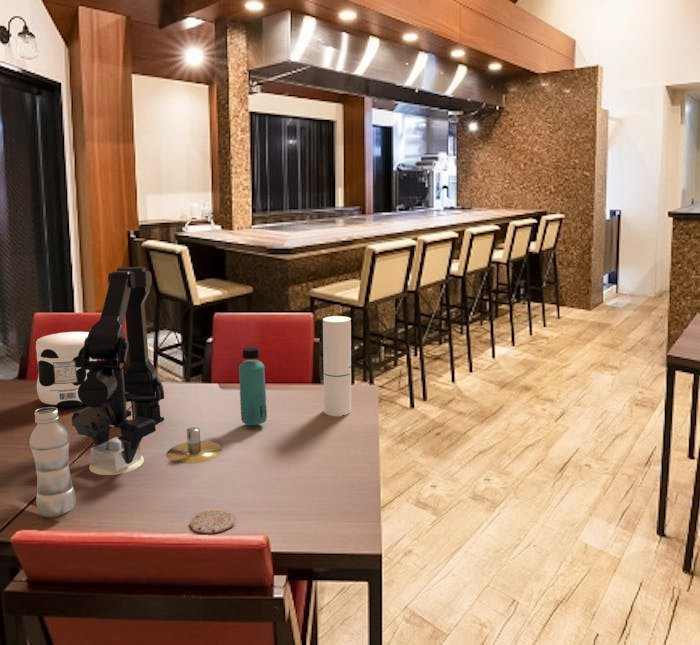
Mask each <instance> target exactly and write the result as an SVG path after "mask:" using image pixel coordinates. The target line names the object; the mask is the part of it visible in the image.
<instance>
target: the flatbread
mask: <svg viewBox="0 0 700 645" xmlns="http://www.w3.org/2000/svg"><path fill="white" fill-rule="evenodd" d="M235 521H236V517H235V514H233V513H232V512H231V511H230V512H229V511H226V510H218V509H217V510H216V509H215V510H213V509H212V510H205V511H202V512H199V513H197V514H195V515H194V516H192V518H191V520H190V522H189V526H190V528H191V529H192V530H193V531H194V532H195V533H196V532H197V533H202V534H216V533H220V532H223V531H225V530H228V529H230V528H232V527H234V526H235Z"/></svg>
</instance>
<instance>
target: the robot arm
mask: <svg viewBox="0 0 700 645" xmlns="http://www.w3.org/2000/svg"><path fill="white" fill-rule="evenodd" d="M107 282H108V286H107V290H106V294H105V298H104V302H103V307H102V310H101V313H100V317H99V320H98V321H97V322H96V323H94V324H93V325H92V326H91V327H90V329H89V330H88V332H89V334H88V337H87V338H86V339H85V342H84V349H83V357H82V364H81V370H89V372H88V373H87V379H86V380H84V381H83V382H82V383H81V384H80V386H79V389H78V397H79V399H80V401H81V402H82V403H83V404H82V405H85V406H87V407H85V408H82V409H79V410H76V411H75V412H74V413H73V414H72V416H71V425H72V426H73V427H74V428H75V431H76V432H77V434H78V435H79V436H85V437H87V438H91V439H92V441H93V443H94V445H95V446H97V445H100V444H102V443H104V442H106V441H108V440H110V431H111V429H110V428H111V427H112V428H119V429H120V434H121V436H119V437H118V439H119V440H120V441H122V442H123V445H124V452H125V458H126V462H127V464H130V463H131V462H132V461H133V458H134V456H135V453H136V451H137V448H138V446H139V444H140V445H141V441H142V440H143V438H144V437H147V436H148V435H151V434H153V433H156V430H157V429H156V424H158V423H160V422H162V421H164V420H165V417H164V416H161V407H160V406H161V405H160V404H159V402H160V401H161V400H164V399H165V390H164V386H163V384H162V382H161V379H160V377H158V373H157V372H158V371H157V368H156V366H154V364H153V363H152V362H151V361H150V359H149V358H150V356H149V346H148V345H149V344H148V331H147V321H146V320H147V319H146V310H145V309H146V307H145V302H146V300H147V297H148V295H149V294H150V292H151V287H152V283H153V278H152V272H151V271H149V270H147V269H146V267H145V266H133V267H131V266H127V267H123V266H122V267H121V266H119V267H118V268H116V271H115V270H113V271H109V273H108V276H107ZM124 322H125V330H126V334H125V331H124V329H123V327H124ZM90 357H91V359H93V360H99V361H89V360H90ZM127 357H128V361H129V363H128V366H127V368H126V370H125V372H124V368H123V367H124V364H126V363H127ZM128 402H130V403H131V404H130V405H131V406H130V407H131V410H129V409H127V403H128ZM131 416H132V419H130V420H129V419H127V418H128V417H131Z"/></svg>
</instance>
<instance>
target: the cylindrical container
mask: <svg viewBox="0 0 700 645" xmlns="http://www.w3.org/2000/svg"><path fill="white" fill-rule="evenodd" d="M351 320H352V318H351V317H349V316H345V315H344V316H341V315H332V316H326V317H323V318H322V348H323V349H322V353H323V356H322V358H323V361H322V363H323V412H325V413H326V414H325V413H324V414H325V415H327V414H328V415H327V416H330V415H331V416H330V417H343V416H342V415H345V416H347V415H346V414H348V413H350V412H351V413H352V322H351ZM351 413H350V414H351ZM348 415H349V414H348Z"/></svg>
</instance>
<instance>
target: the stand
mask: <svg viewBox="0 0 700 645" xmlns="http://www.w3.org/2000/svg"><path fill="white" fill-rule="evenodd" d="M112 439H113V438H112ZM109 440H110V439H109ZM109 449H110V451H111V452H116V451H119V450H121V449H122V448H121V441H120V440H119V439H113V440H110V441H109ZM144 461H145V460H144V457H143V455H141V460H140V461H138V462H136V463H134V464H132V465H131V466H129V467H127V468H125V469H123V470H121V471H119V472H117V473H114V472H111V471H107V470H103V469H100V468H96V467H92V462H91V463H90V464H89V466H88V467H89V468H88V469H89V471H90V472H92V473H93V474H96V475H102V476H113V475H121V474H125V473H129V472H131V471H134V470H136V469H138V468H139V467H140V466H142V465H143V463H144Z"/></svg>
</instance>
